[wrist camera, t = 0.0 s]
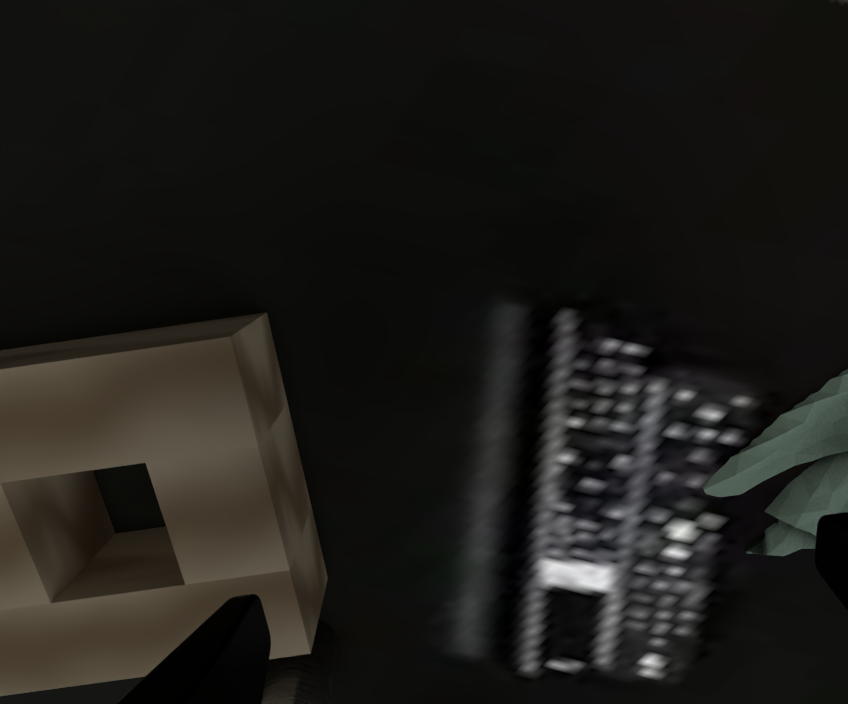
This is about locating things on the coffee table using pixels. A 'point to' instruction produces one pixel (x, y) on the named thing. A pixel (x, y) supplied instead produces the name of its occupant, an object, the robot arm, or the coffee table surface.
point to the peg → (303, 673)
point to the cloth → (786, 447)
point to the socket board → (176, 493)
